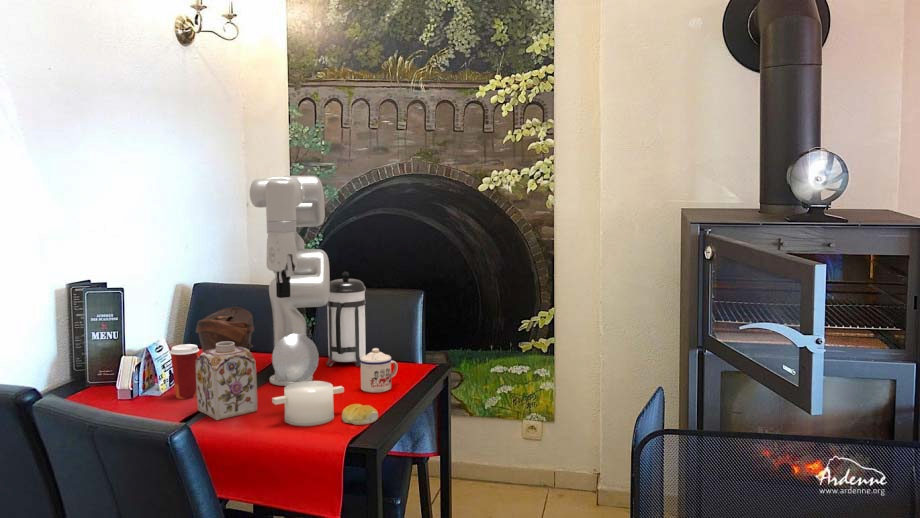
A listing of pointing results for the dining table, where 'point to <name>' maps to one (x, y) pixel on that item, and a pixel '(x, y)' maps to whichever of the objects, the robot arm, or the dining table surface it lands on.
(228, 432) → the dining table surface
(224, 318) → the case
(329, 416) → the pot
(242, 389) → the decorative jar
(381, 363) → the teacup with lid
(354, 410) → the bread roll
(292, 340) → the lid
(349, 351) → the coffee press
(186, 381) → the paper cup
